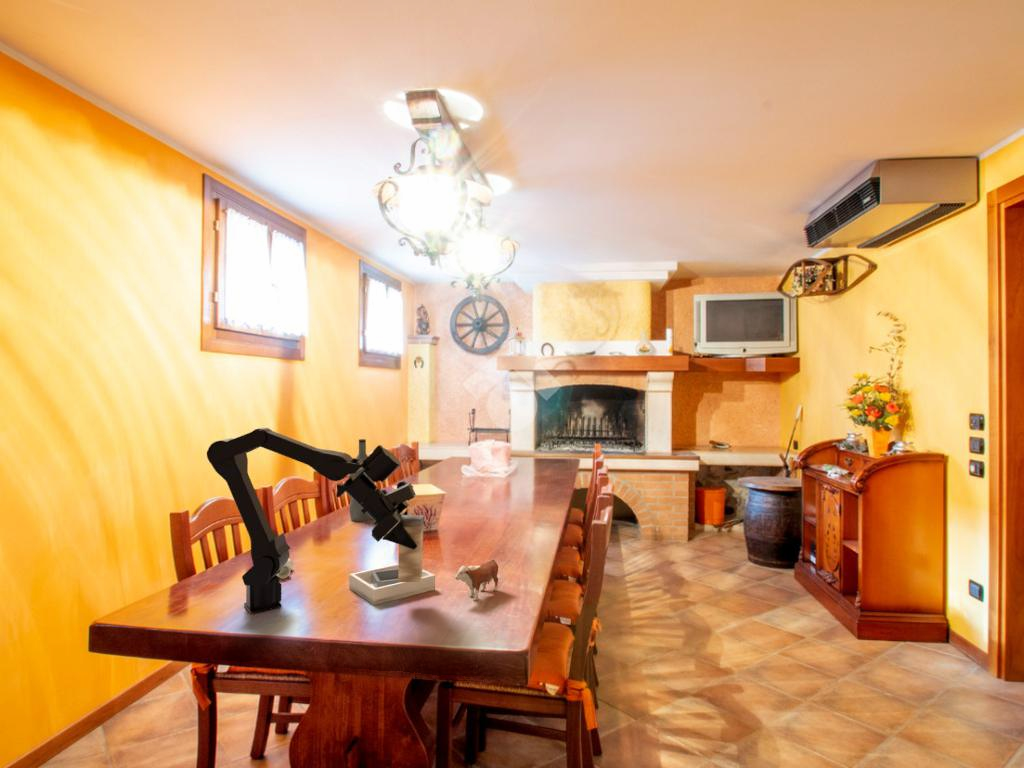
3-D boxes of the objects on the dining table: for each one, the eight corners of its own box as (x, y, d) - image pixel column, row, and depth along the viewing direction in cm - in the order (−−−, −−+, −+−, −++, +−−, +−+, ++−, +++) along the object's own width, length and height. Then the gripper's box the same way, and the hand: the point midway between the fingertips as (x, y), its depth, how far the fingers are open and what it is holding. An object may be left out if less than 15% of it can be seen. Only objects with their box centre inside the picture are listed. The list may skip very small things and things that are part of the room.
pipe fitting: (288, 569, 157) (263, 573, 152) (289, 555, 157) (265, 558, 152) (302, 576, 152) (277, 580, 147) (303, 561, 152) (278, 565, 147)
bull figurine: (451, 601, 132) (451, 566, 132) (491, 586, 142) (490, 553, 142) (465, 606, 129) (465, 570, 129) (504, 590, 139) (504, 556, 139)
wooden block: (397, 582, 128) (398, 519, 128) (401, 575, 133) (402, 515, 133) (420, 582, 128) (421, 519, 128) (422, 575, 133) (423, 515, 133)
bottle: (368, 515, 222) (368, 438, 222) (379, 519, 215) (379, 439, 215) (345, 518, 216) (345, 439, 216) (355, 522, 209) (355, 441, 209)
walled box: (374, 605, 129) (374, 589, 129) (349, 588, 140) (349, 574, 140) (435, 589, 139) (435, 575, 139) (407, 575, 150) (407, 561, 150)
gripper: (387, 477, 121) (439, 529, 122) (400, 466, 140) (444, 510, 140) (349, 515, 121) (401, 567, 121) (367, 498, 139) (412, 543, 140)
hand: (417, 544), depth 131 cm, fingers closed on wooden block, 5 cm apart
